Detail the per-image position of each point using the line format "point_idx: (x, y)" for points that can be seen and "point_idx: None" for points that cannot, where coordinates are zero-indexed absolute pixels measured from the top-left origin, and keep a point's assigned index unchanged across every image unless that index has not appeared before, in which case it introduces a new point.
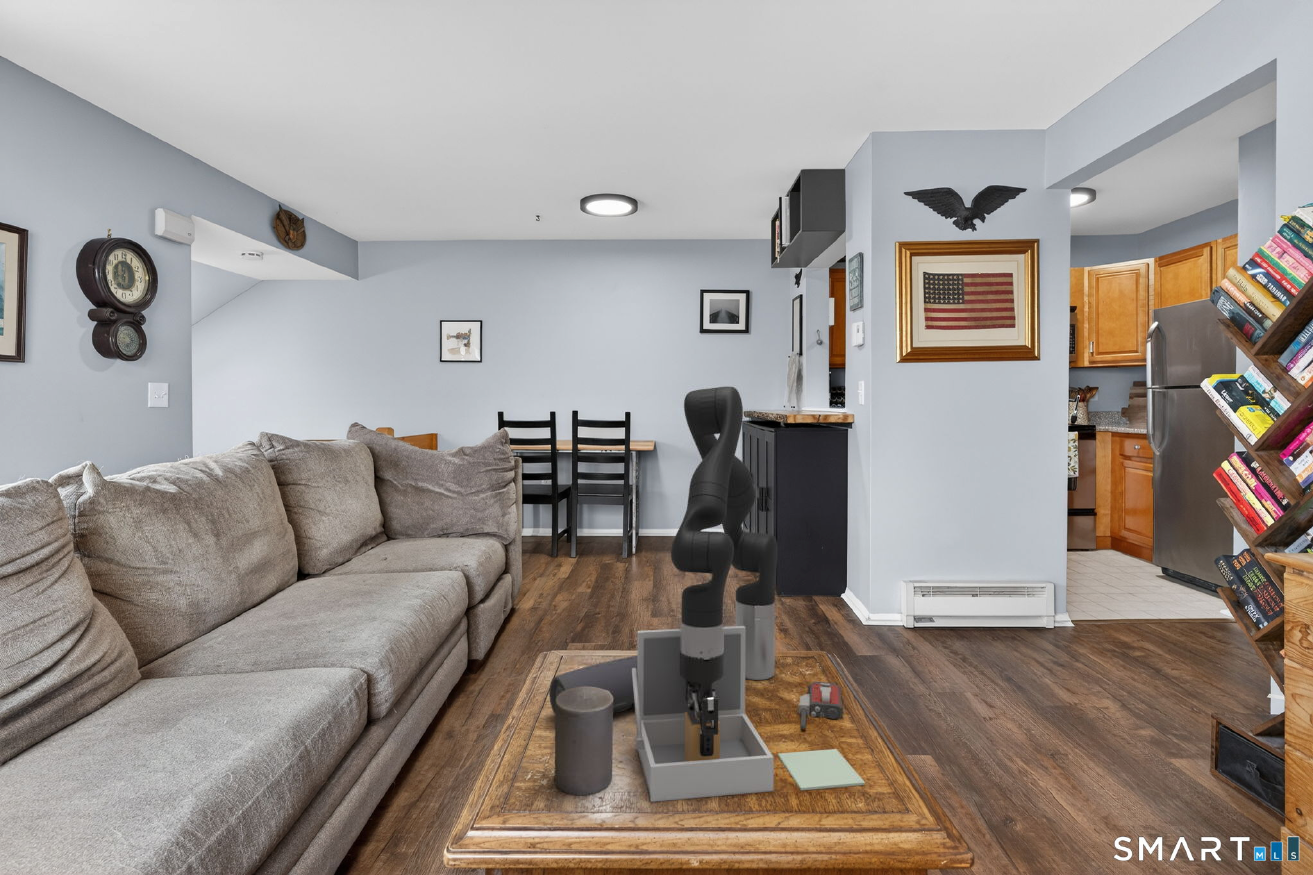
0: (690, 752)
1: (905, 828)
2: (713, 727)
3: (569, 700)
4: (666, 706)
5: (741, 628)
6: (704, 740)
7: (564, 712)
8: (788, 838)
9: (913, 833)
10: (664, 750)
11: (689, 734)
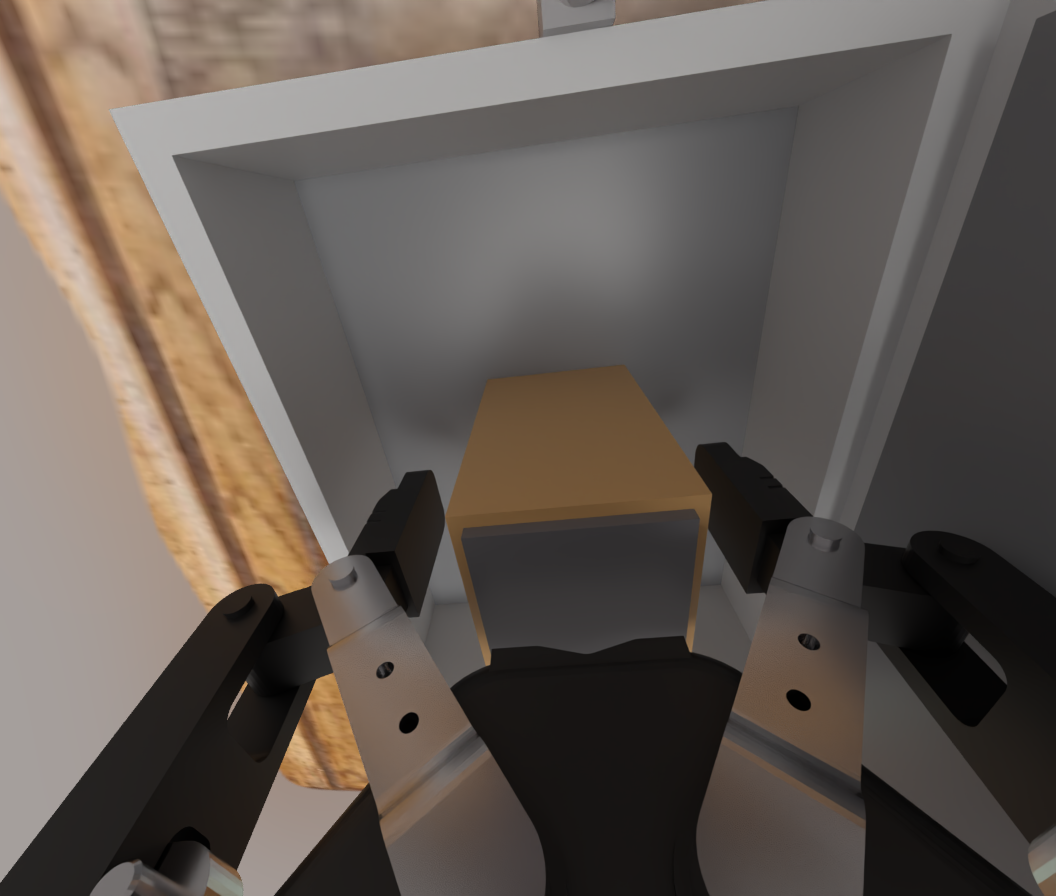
0: (477, 417)
1: (323, 755)
2: (257, 690)
3: None
4: (1007, 317)
5: None
6: (355, 548)
7: None
8: (212, 592)
9: (310, 759)
10: (717, 261)
11: (500, 459)
